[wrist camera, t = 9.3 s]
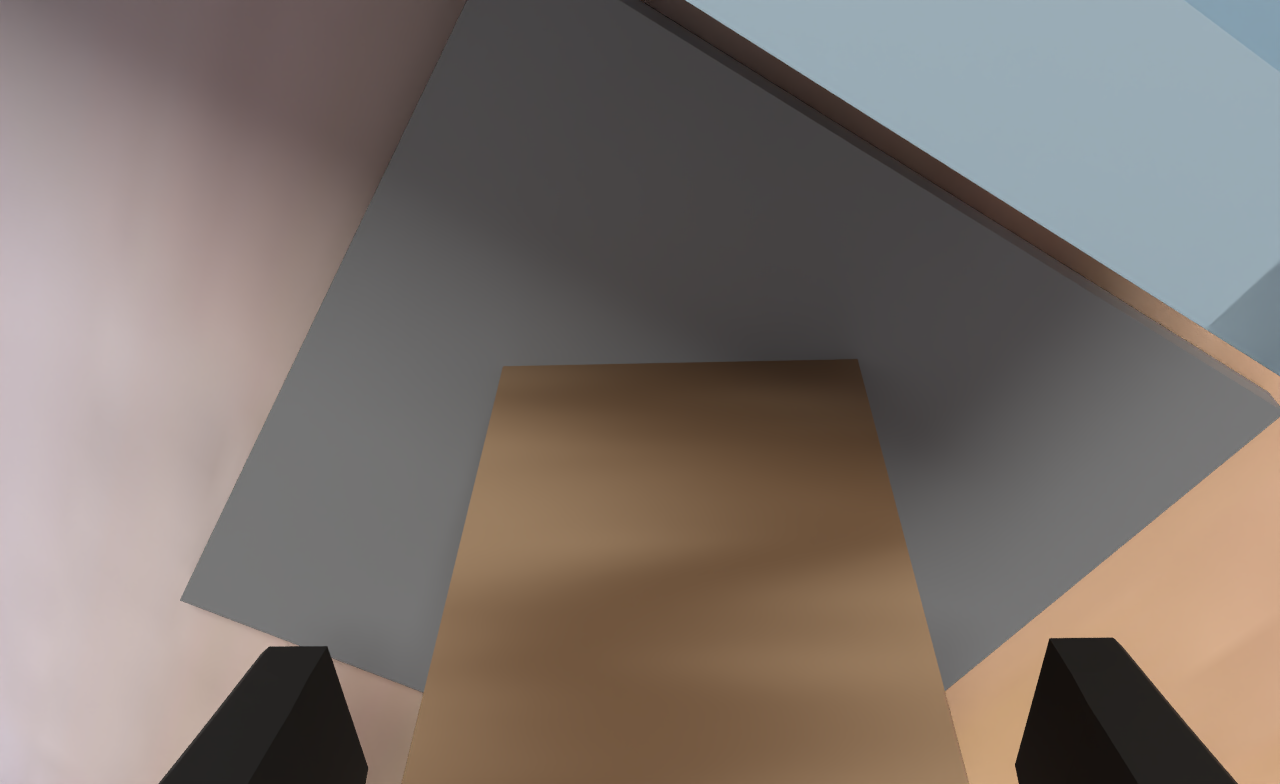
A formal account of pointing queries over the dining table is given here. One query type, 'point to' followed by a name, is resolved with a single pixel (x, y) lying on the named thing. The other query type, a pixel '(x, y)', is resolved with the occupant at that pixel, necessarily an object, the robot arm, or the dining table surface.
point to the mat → (694, 336)
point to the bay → (1081, 125)
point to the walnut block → (683, 589)
